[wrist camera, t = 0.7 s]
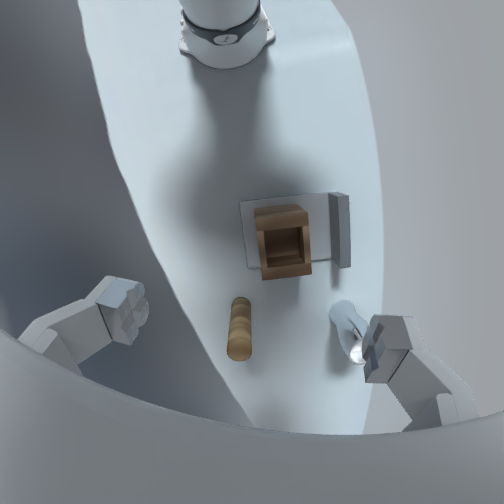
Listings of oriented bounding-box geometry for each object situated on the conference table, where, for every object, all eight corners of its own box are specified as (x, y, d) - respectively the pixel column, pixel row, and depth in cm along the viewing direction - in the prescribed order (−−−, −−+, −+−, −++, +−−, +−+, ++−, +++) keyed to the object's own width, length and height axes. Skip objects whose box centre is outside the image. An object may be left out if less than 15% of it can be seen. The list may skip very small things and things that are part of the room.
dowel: (230, 298, 57) (224, 343, 42) (249, 296, 57) (250, 341, 42) (233, 314, 58) (228, 362, 43) (251, 312, 58) (253, 360, 43)
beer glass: (352, 293, 57) (379, 329, 43) (359, 317, 59) (384, 355, 45) (323, 306, 58) (343, 346, 44) (332, 329, 60) (351, 371, 46)
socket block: (253, 208, 50) (255, 218, 41) (296, 204, 50) (307, 212, 41) (259, 260, 53) (262, 280, 44) (300, 255, 53) (311, 274, 44)
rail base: (239, 201, 51) (238, 206, 45) (337, 191, 51) (349, 195, 44) (247, 266, 55) (247, 280, 48) (340, 255, 55) (351, 266, 48)
